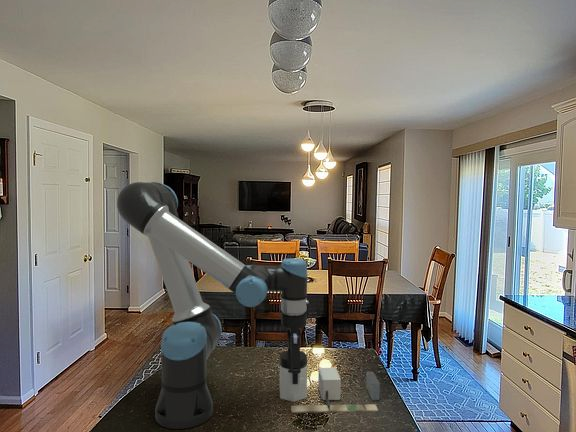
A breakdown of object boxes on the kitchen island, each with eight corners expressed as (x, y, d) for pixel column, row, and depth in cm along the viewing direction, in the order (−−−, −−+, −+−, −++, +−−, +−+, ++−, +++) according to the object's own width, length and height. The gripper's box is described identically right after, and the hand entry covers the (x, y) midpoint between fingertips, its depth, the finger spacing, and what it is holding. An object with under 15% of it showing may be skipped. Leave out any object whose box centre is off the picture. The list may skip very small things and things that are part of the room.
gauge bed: (291, 412, 114) (291, 411, 114) (290, 407, 117) (290, 405, 117) (378, 411, 116) (378, 409, 116) (375, 405, 119) (375, 404, 119)
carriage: (323, 408, 116) (324, 387, 116) (318, 386, 129) (318, 367, 128) (343, 408, 116) (343, 387, 116) (335, 386, 129) (336, 367, 129)
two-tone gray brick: (372, 400, 122) (373, 383, 121) (366, 387, 130) (366, 371, 129) (379, 400, 122) (379, 383, 121) (372, 387, 130) (372, 371, 129)
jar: (287, 405, 118) (288, 363, 118) (272, 393, 125) (273, 353, 124) (313, 396, 123) (313, 356, 123) (297, 385, 130) (298, 347, 129)
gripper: (311, 325, 111) (310, 404, 112) (302, 300, 135) (302, 365, 136) (282, 325, 110) (282, 404, 112) (279, 300, 135) (279, 365, 136)
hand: (293, 383), depth 124 cm, fingers open, 12 cm apart
